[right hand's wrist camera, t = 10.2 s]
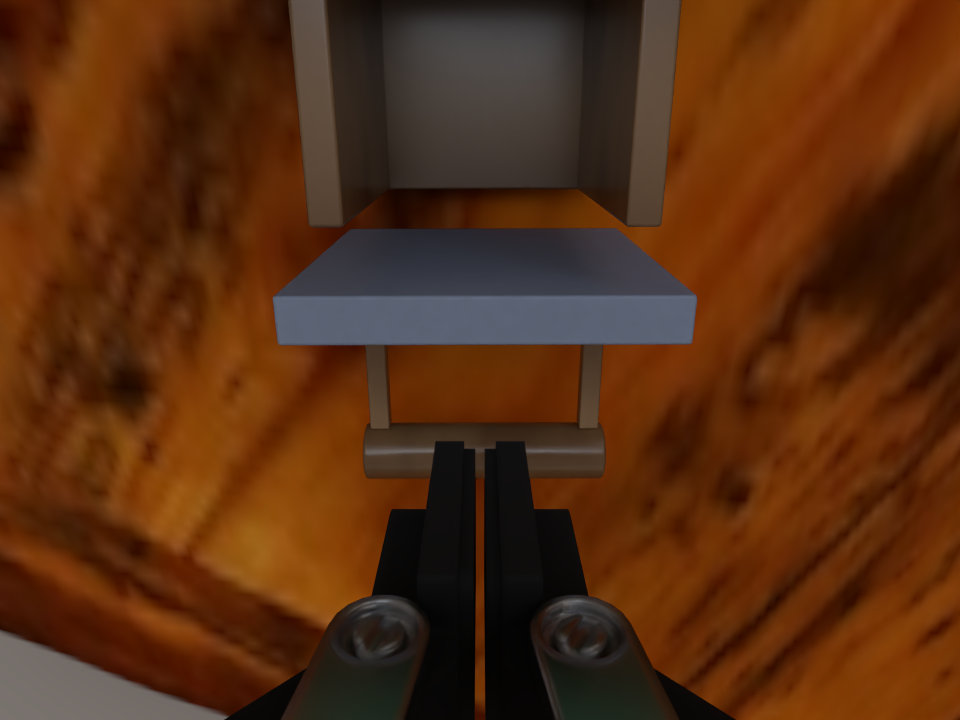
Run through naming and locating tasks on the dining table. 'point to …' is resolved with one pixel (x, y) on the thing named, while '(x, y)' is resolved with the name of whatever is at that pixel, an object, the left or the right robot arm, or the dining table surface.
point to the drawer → (484, 165)
